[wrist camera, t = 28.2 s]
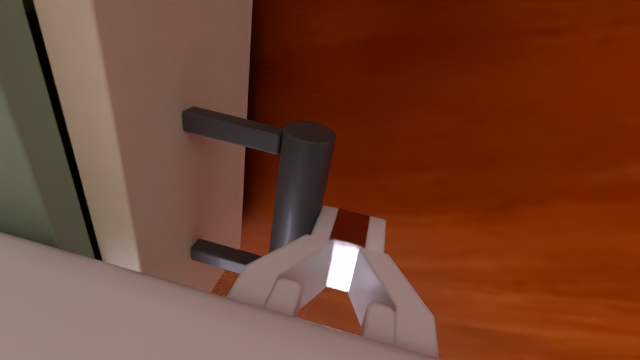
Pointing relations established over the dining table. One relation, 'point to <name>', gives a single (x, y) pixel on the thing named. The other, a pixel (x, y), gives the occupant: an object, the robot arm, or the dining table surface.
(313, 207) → the drawer
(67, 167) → the cabinet
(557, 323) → the dining table surface
